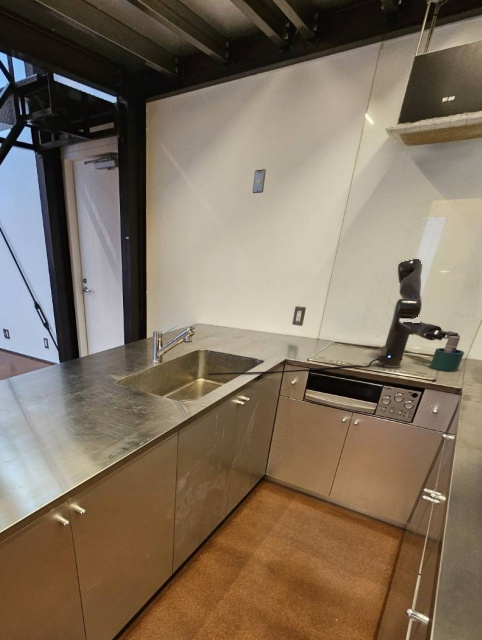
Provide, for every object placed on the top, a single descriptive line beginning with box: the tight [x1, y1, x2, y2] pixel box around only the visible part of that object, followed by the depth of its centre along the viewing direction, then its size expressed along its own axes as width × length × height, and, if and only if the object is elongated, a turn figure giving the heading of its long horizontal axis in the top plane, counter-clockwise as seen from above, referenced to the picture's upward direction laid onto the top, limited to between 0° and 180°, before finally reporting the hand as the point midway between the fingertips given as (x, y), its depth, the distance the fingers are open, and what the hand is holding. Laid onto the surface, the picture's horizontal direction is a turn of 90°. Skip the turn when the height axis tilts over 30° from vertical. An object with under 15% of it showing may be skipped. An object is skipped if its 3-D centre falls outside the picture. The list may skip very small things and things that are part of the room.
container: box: [444, 336, 461, 353], centre depth 191 cm, size 5×5×15 cm
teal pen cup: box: [430, 347, 465, 372], centre depth 192 cm, size 12×12×9 cm
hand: (450, 338), depth 190 cm, fingers open, 8 cm apart
